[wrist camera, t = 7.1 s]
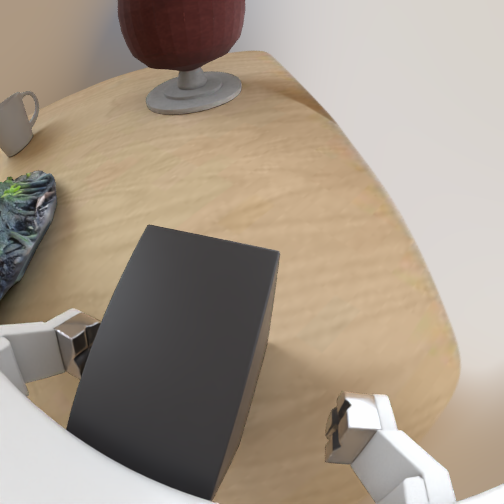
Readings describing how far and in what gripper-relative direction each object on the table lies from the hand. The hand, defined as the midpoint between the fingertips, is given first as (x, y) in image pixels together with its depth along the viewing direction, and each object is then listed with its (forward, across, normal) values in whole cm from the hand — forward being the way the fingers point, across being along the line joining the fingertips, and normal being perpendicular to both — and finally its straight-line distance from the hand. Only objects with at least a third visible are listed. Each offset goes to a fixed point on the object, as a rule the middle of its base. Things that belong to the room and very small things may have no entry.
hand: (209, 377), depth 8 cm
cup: (+18, +42, -10) cm, 47 cm away
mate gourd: (+25, +15, -17) cm, 34 cm away
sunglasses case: (+4, 0, +4) cm, 6 cm away
